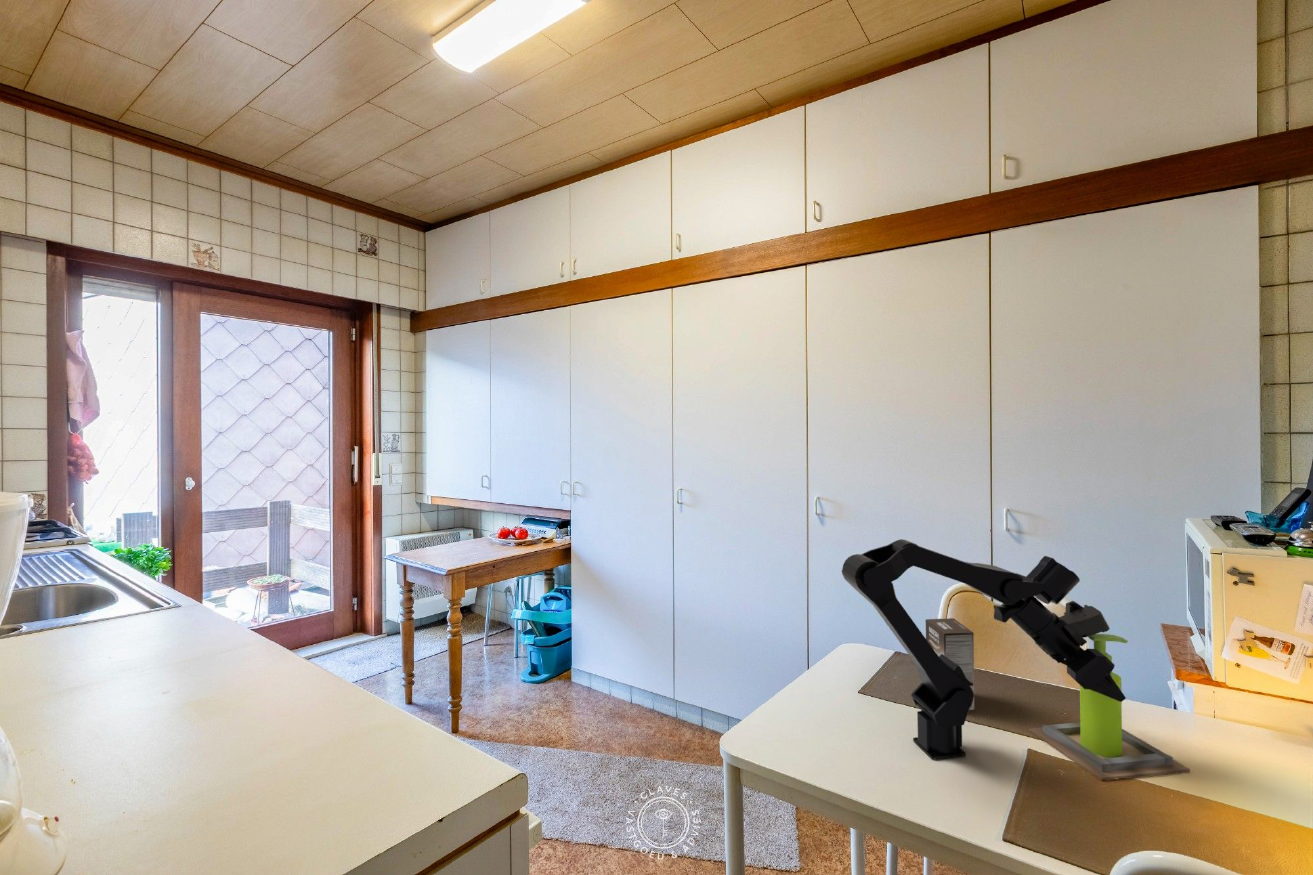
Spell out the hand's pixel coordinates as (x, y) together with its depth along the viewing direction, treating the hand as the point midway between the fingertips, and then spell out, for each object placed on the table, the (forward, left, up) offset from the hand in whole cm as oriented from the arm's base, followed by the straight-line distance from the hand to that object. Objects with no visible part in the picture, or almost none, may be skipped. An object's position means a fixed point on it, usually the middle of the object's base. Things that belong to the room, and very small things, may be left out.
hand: (1109, 687), depth 105 cm
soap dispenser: (-1, 0, -11) cm, 11 cm away
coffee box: (-16, +22, -11) cm, 30 cm away
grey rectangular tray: (-1, 0, -11) cm, 11 cm away
